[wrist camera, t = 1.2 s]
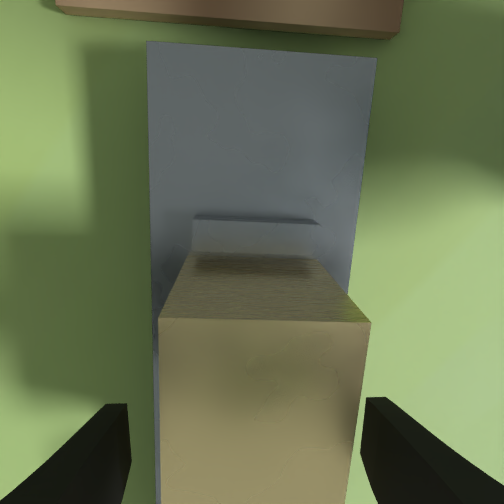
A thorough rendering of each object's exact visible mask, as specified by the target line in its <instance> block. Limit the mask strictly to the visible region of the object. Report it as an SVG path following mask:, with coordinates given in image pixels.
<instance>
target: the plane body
mask: <svg viewBox="0 0 504 504" xmlns="http://www.w3.org/2000/svg"><path fill="white" fill-rule="evenodd" d="M146 43H147V91H148V140H149V188H150V237H151V285H152V334H153V382H154V430H155V479H156V504H161V464H160V402H159V340H158V317H159V315H160V313H161V311H162V309H163V306H164V304H165V302H166V300H167V298H168V296H169V294H170V292H171V289H172V287H173V285H174V283H175V281H176V279H177V277H178V275H179V273H180V270H181V268H182V266H183V264H184V262H185V260H186V258H187V256H188V255H204V256H232V257H261V258H289V259H317V260H318V261H319V262H320V264H321V265H322V266H323V267H324V268H325V269H326V271H327V272H328V273H329V274H330V275H331V276H332V278H333V279H334V280H335V281H336V282H337V283H338V285H339V286H340V287H341V288H342V289H343V290H344V292H345V293H346V294H348V286H349V278H350V270H351V262H352V254H353V247H354V239H355V231H356V223H357V215H358V207H359V199H360V191H361V183H362V176H363V168H364V160H365V152H366V144H367V136H368V128H369V120H370V112H371V104H372V97H373V89H374V81H375V73H376V65H377V58H371V57H357V56H344V55H330V54H317V53H303V52H290V51H276V50H263V49H250V48H236V47H223V46H209V45H196V44H182V43H169V42H156V41H146Z"/></svg>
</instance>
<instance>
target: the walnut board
mask: <svg viewBox="0 0 504 504" xmlns="http://www.w3.org/2000/svg"><path fill="white" fill-rule="evenodd" d="M403 2H404V0H55V3H56V6H57V7H58V8H60V9H61V10H62V11H63V12H64V13H65V14H66V15H79V16H91V17H104V18H117V19H130V20H143V21H155V22H168V23H181V24H194V25H207V26H219V27H232V28H245V29H258V30H271V31H284V32H296V33H309V34H322V35H335V36H348V37H360V38H373V39H386V40H390V39H391V38H393V37H394V36H395V35H397V34H398V33H399V31H400V24H401V17H402V9H403Z"/></svg>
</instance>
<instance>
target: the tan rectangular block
mask: <svg viewBox="0 0 504 504" xmlns="http://www.w3.org/2000/svg"><path fill="white" fill-rule="evenodd" d="M370 329H371V322H370V321H369V319H368V318H367V317H366V316H365V315H364V314H363V312H362V311H361V310H360V309H359V308H358V307H357V306H356V304H355V303H354V302H353V301H352V300H351V299H350V297H349V296H348V295H347V294H346V293H345V292H344V290H343V289H342V288H341V287H340V286H339V285H338V283H337V282H336V281H335V280H334V279H333V278H332V276H331V275H330V274H329V273H328V272H327V271H326V269H325V268H324V267H323V266H322V265H321V264H320V262H319V261H318V260H317V259H289V258H261V257H232V256H204V255H188V256H187V258H186V260H185V262H184V264H183V266H182V268H181V270H180V273H179V275H178V277H177V279H176V281H175V283H174V285H173V287H172V289H171V292H170V294H169V296H168V298H167V300H166V302H165V304H164V306H163V309H162V311H161V313H160V315H159V317H158V340H159V402H160V464H161V504H345V498H346V491H347V484H348V477H349V471H350V464H351V457H352V450H353V443H354V437H355V430H356V423H357V416H358V410H359V403H360V396H361V389H362V383H363V376H364V369H365V362H366V356H367V349H368V342H369V335H370Z"/></svg>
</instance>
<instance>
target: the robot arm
mask: <svg viewBox="0 0 504 504" xmlns="http://www.w3.org/2000/svg"><path fill="white" fill-rule="evenodd" d="M360 454H361V458H362V461H363V464H364V467H365V470H366V474H367V477H368V479H369V482H370V485H371V488H372V491H373V493H374V495H375V498H376V500H377V502H378V504H504V485H502V484H501V483H499V482H498V481H496V480H495V479H493V478H492V477H490V476H489V475H487V474H486V473H484V472H483V471H482V470H480V469H479V468H477V467H476V466H475V465H473V464H472V463H470V462H469V461H468V460H466V459H465V458H463V457H462V456H461V455H459V454H458V453H457V452H455V451H454V450H453V449H451V448H450V447H449V446H447V445H446V444H445V443H443V442H442V441H441V440H440V439H438V438H437V437H436V436H434V435H433V434H432V433H431V432H429V431H428V430H427V429H426V428H424V427H423V426H422V425H421V424H419V423H418V422H417V421H416V420H414V419H413V418H412V417H411V416H409V415H408V414H407V413H406V412H404V411H403V410H402V409H401V408H399V407H398V406H397V405H396V404H394V403H393V402H392V401H390V400H389V399H388V398H386V397H367V398H366V404H365V413H364V422H363V431H362V440H361V449H360ZM131 462H132V459H131V447H130V435H129V423H128V411H127V403H124V404H105V405H104V406H103V407H102V408H101V409H100V410H99V411H98V412H97V413H96V414H95V415H94V416H93V417H92V418H91V419H90V420H89V421H88V422H87V423H86V424H85V425H84V426H83V427H81V428H80V429H79V430H78V431H77V432H76V433H75V434H74V435H73V436H72V437H71V438H70V439H69V440H68V441H67V442H66V443H65V444H64V445H63V446H62V447H61V448H60V449H59V450H58V451H56V452H55V453H54V454H53V455H52V456H51V457H50V458H49V459H48V460H47V461H46V462H45V463H44V464H43V465H41V466H40V467H39V468H38V469H37V470H36V471H35V472H33V473H32V474H31V475H30V476H29V477H28V478H27V479H25V480H24V481H23V482H22V483H21V484H20V485H19V486H17V487H16V488H15V489H14V490H13V491H12V492H10V493H9V494H8V495H7V496H5V497H4V498H3V499H2V500H0V504H121V502H122V499H123V495H124V491H125V487H126V483H127V479H128V474H129V470H130V466H131Z"/></svg>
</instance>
